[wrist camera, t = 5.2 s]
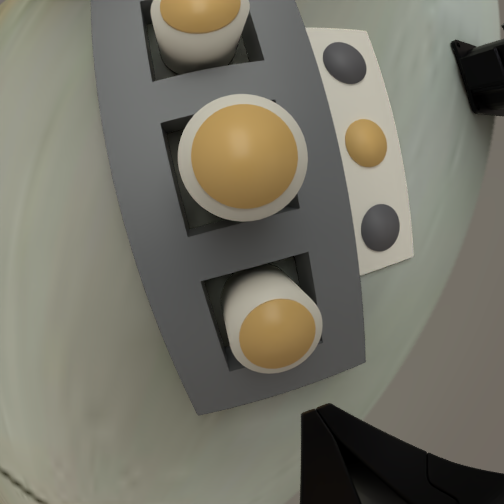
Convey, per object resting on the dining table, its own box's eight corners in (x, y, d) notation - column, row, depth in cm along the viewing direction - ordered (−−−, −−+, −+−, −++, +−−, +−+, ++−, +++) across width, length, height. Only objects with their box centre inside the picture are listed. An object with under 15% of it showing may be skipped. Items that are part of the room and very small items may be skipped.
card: (364, 32, 14) (367, 30, 13) (411, 255, 17) (415, 256, 17) (292, 30, 13) (295, 26, 13) (348, 277, 17) (351, 279, 16)
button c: (286, 254, 15) (317, 278, 11) (299, 320, 16) (328, 358, 12) (211, 275, 15) (217, 307, 11) (231, 341, 16) (243, 386, 12)
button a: (228, 11, 12) (239, -33, 8) (243, 69, 13) (260, 32, 9) (155, 25, 12) (145, -18, 7) (166, 85, 13) (156, 50, 8)
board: (265, -22, 12) (275, -45, 10) (347, 342, 18) (365, 362, 16) (101, 8, 11) (91, -13, 8) (196, 389, 17) (198, 415, 14)
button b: (264, 114, 12) (293, 84, 8) (284, 199, 13) (321, 205, 9) (175, 132, 12) (164, 107, 8) (196, 221, 13) (195, 237, 9)
